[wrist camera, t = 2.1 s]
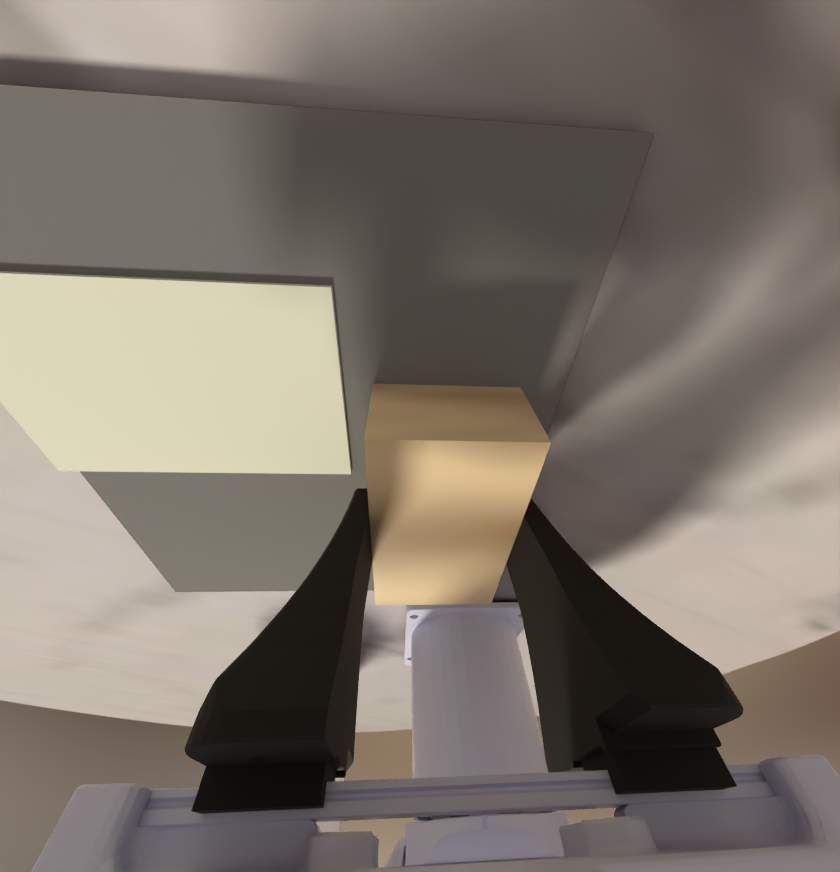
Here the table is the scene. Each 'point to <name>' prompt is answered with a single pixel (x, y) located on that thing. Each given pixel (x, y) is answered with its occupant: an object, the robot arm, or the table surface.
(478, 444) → the oak block
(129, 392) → the rubber mat
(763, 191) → the table surface
